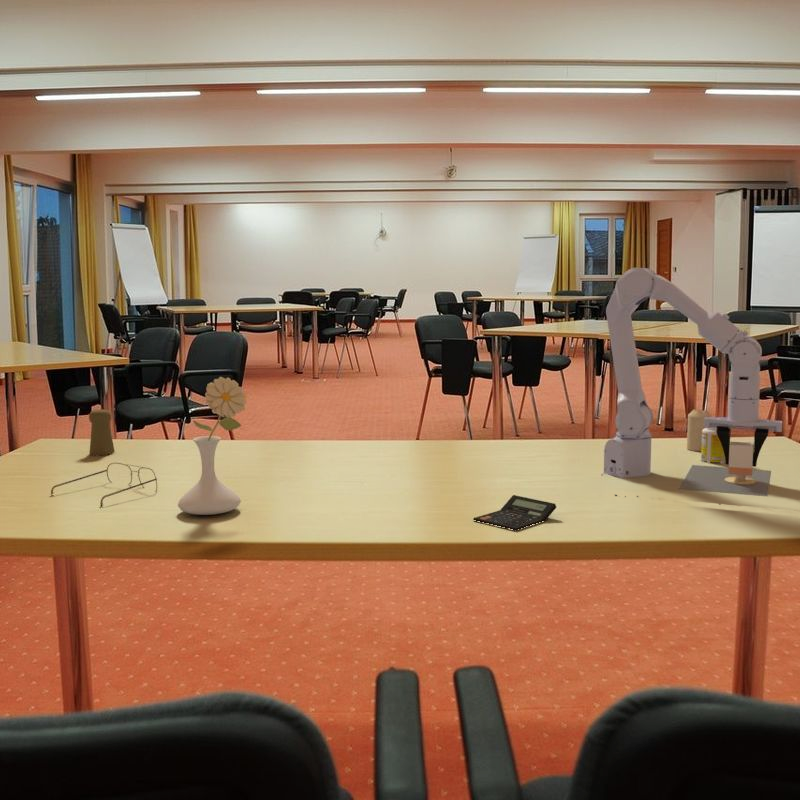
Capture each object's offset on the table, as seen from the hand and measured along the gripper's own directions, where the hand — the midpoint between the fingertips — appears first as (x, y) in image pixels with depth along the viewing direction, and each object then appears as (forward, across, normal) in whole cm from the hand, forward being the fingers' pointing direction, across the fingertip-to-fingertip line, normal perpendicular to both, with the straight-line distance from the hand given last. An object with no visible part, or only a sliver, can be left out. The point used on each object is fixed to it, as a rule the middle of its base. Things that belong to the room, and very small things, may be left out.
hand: (741, 464), depth 177 cm
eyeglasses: (+5, +117, +54) cm, 128 cm away
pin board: (+4, +3, -1) cm, 5 cm away
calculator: (+5, +35, +41) cm, 54 cm away
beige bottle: (+5, +12, -37) cm, 39 cm away
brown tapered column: (+4, +148, +22) cm, 149 cm away
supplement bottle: (+5, +7, -19) cm, 21 cm away
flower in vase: (+4, +88, +57) cm, 105 cm away
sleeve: (+2, 0, 0) cm, 2 cm away
